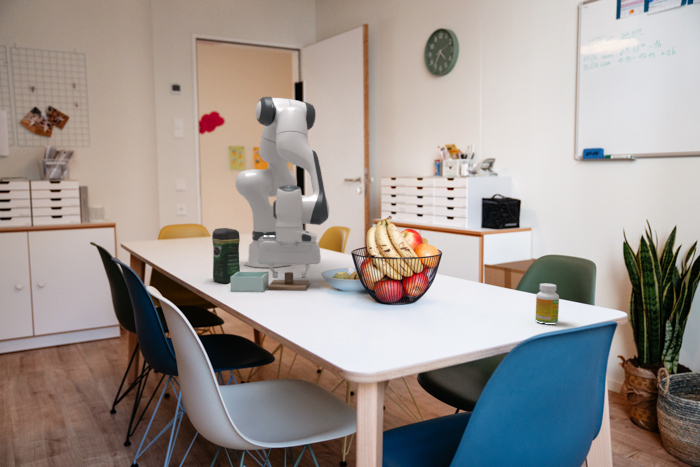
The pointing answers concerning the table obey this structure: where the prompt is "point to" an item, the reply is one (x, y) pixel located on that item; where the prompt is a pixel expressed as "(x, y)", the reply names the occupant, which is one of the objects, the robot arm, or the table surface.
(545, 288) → the supplement bottle
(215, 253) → the coffee jar
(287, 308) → the table surface
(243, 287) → the mint green open box
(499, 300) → the table surface
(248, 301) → the table surface
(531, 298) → the table surface
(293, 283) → the lid
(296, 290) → the mat
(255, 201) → the robot arm
